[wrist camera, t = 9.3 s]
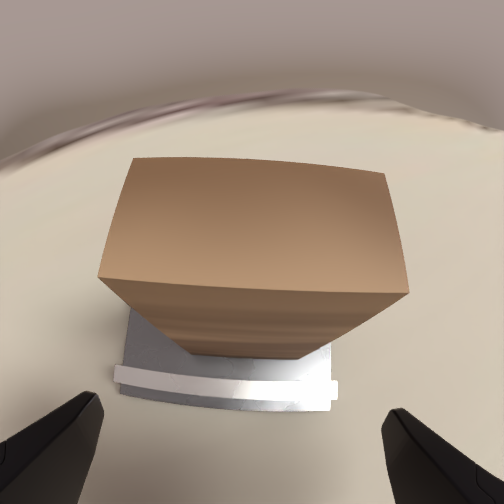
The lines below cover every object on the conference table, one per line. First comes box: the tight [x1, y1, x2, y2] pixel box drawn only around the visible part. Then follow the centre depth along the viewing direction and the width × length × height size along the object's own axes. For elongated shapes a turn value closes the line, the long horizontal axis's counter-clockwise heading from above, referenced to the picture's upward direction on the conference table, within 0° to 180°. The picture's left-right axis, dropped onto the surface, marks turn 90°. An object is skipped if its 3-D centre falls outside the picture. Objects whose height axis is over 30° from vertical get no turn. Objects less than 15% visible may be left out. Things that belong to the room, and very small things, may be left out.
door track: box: [113, 307, 337, 411], centre depth 16 cm, size 12×9×2 cm
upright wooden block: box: [97, 157, 409, 360], centre depth 11 cm, size 4×6×12 cm, turn 88°
